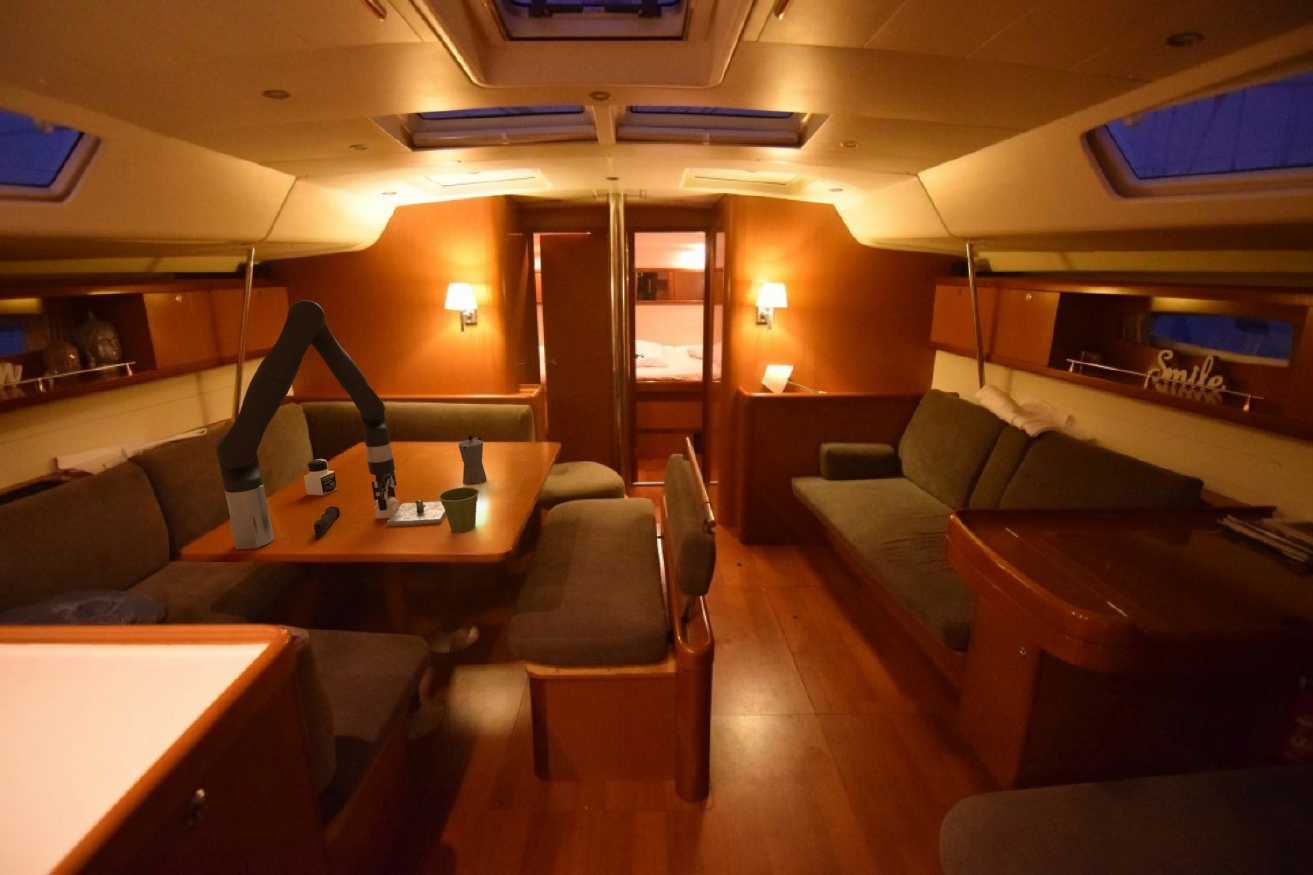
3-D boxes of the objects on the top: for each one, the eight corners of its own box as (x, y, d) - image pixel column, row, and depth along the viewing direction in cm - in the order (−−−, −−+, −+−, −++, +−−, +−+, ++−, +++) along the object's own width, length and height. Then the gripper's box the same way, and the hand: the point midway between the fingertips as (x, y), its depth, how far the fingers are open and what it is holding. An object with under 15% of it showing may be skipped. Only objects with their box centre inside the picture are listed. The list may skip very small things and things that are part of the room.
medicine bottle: (323, 495, 212) (318, 463, 209) (306, 494, 214) (300, 463, 210) (337, 489, 219) (332, 458, 216) (321, 488, 220) (315, 457, 217)
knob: (394, 517, 191) (392, 501, 189) (375, 518, 190) (373, 502, 189) (400, 510, 196) (397, 495, 195) (382, 511, 196) (379, 496, 194)
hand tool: (327, 517, 192) (325, 504, 191) (340, 516, 193) (338, 503, 192) (307, 542, 175) (304, 527, 173) (322, 540, 175) (319, 526, 174)
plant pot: (448, 521, 186) (444, 487, 184) (486, 519, 187) (483, 486, 184) (437, 537, 175) (433, 501, 172) (478, 535, 176) (474, 499, 173)
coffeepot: (480, 486, 218) (475, 439, 214) (455, 486, 219) (450, 439, 214) (495, 473, 233) (490, 429, 228) (472, 473, 234) (467, 429, 229)
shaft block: (440, 523, 185) (438, 508, 184) (387, 526, 184) (385, 511, 182) (452, 504, 201) (450, 491, 199) (403, 507, 199) (401, 493, 198)
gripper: (384, 463, 182) (392, 512, 186) (399, 450, 196) (406, 496, 200) (359, 465, 181) (368, 514, 185) (375, 452, 195) (383, 498, 199)
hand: (387, 505), depth 193 cm, fingers open, 8 cm apart
